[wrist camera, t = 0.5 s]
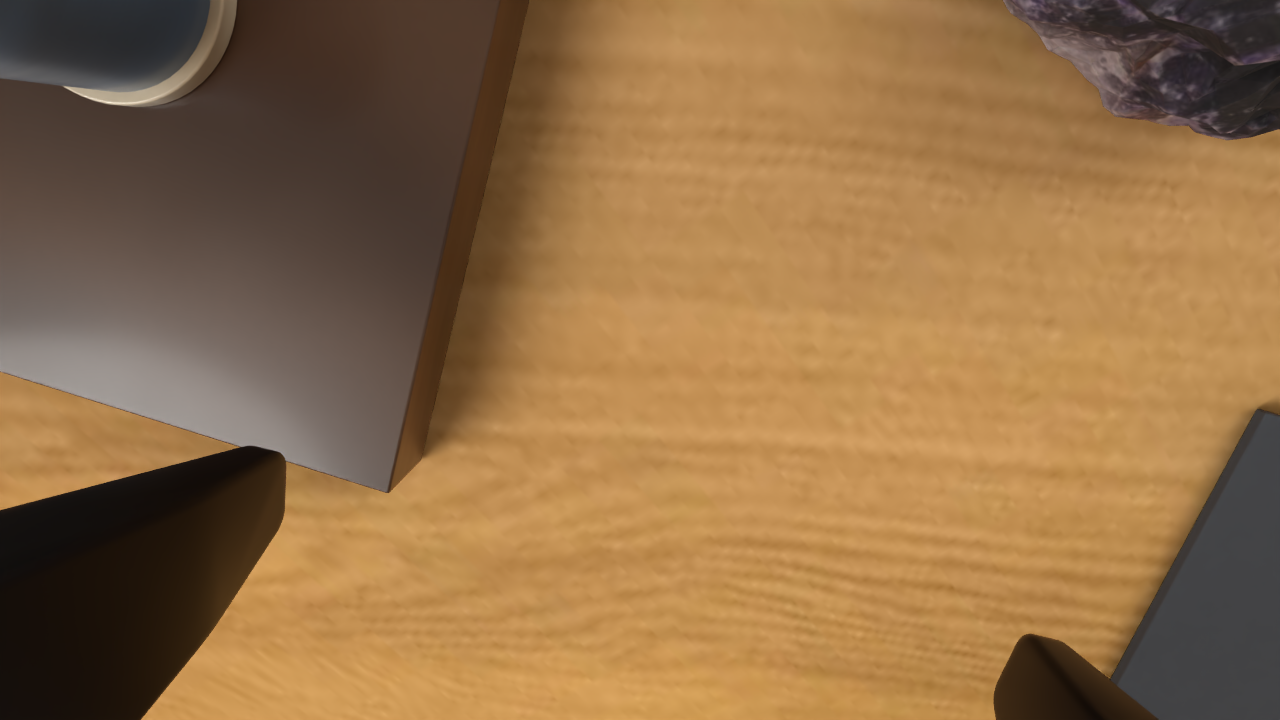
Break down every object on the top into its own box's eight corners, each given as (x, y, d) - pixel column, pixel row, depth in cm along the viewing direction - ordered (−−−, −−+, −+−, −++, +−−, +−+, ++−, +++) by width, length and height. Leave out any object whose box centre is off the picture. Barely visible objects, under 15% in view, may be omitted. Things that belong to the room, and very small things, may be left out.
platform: (421, 460, 24) (388, 494, 21) (20, 335, 24) (-57, 354, 21) (544, -60, 20) (520, -91, 17) (64, -205, 20) (-26, -256, 17)
